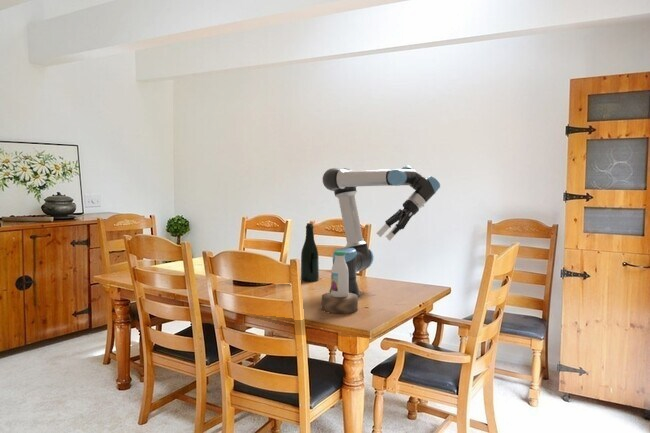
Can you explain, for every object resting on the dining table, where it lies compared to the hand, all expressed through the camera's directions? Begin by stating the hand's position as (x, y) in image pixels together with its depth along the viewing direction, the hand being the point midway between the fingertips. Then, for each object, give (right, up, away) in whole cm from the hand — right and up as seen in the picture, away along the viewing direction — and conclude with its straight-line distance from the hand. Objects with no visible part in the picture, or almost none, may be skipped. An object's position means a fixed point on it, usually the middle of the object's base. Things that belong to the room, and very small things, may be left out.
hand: (382, 236), depth 231 cm
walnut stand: (-20, -32, -10) cm, 39 cm away
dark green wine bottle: (-36, -27, +55) cm, 71 cm away
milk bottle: (-20, -26, -10) cm, 34 cm away
